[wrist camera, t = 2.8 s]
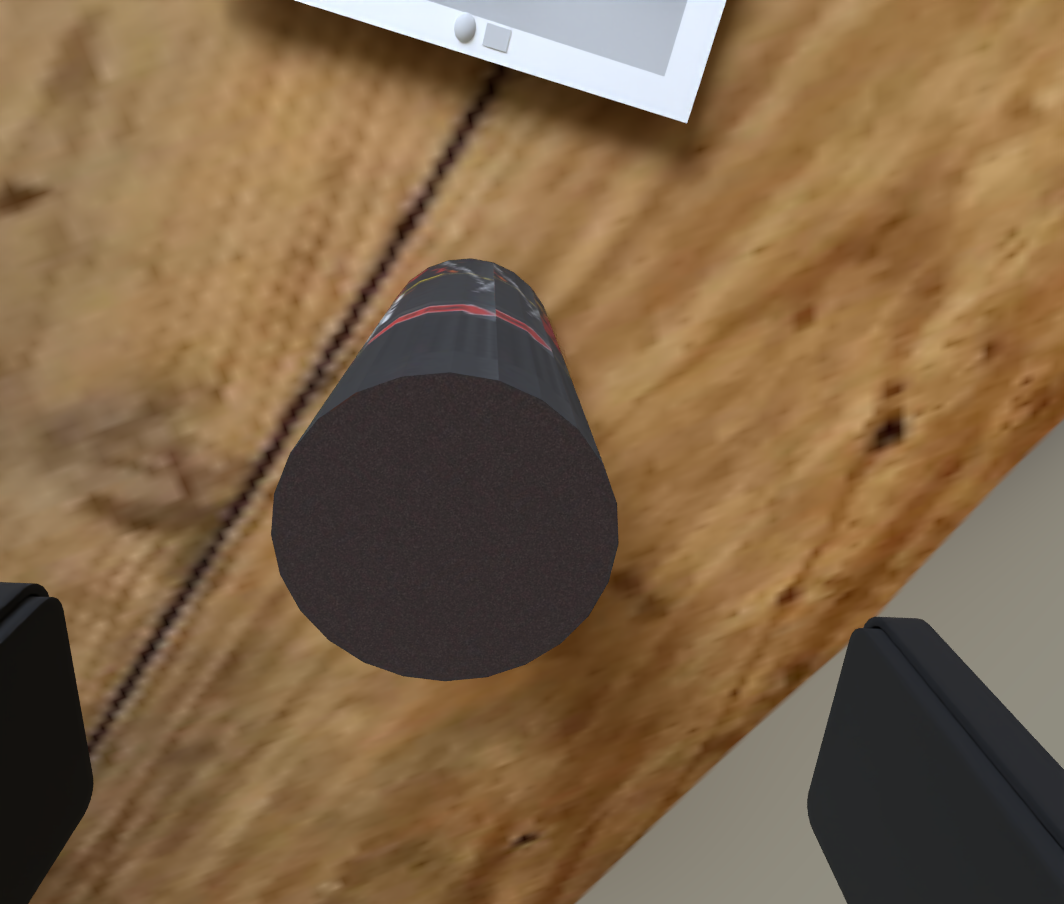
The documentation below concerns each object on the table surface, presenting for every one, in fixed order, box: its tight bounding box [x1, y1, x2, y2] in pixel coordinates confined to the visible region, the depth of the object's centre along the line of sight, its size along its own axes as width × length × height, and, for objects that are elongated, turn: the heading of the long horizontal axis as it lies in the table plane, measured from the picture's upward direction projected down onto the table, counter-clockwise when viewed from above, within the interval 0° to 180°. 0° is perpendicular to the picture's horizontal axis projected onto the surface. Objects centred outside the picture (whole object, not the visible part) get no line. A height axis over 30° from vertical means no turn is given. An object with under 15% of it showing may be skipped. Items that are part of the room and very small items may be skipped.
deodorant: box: [271, 259, 618, 681], centre depth 20 cm, size 6×6×15 cm
